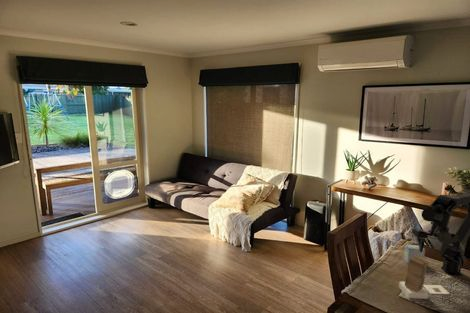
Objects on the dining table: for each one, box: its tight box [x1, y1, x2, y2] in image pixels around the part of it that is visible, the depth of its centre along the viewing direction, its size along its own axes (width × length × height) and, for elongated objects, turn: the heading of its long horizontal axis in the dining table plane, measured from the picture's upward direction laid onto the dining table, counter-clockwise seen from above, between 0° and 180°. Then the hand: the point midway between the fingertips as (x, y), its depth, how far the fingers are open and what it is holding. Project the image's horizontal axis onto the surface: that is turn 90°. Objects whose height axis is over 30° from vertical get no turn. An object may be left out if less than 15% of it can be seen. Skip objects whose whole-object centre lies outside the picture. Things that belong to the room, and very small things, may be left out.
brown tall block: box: [405, 256, 429, 292], centre depth 128 cm, size 5×5×13 cm
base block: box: [398, 280, 429, 300], centre depth 130 cm, size 8×8×3 cm
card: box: [423, 284, 450, 295], centre depth 131 cm, size 8×6×1 cm
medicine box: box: [403, 244, 426, 265], centre depth 153 cm, size 8×4×9 cm, turn 84°
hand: (430, 254), depth 138 cm, fingers open, 9 cm apart
